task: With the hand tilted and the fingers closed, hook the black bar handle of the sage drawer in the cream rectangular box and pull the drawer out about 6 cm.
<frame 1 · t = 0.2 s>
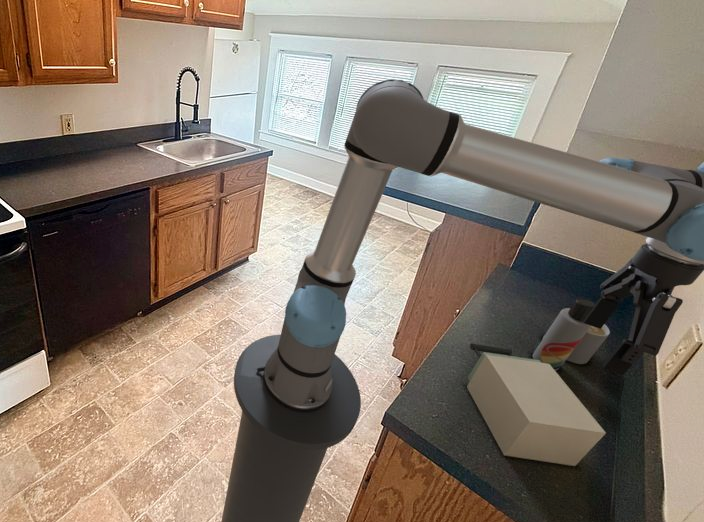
hand: (601, 346, 72), 22 cm above the counter, tool pointing down, fingers open, 13 cm apart
coffee mug: (564, 346, 103), on the counter
lotion bottle: (544, 362, 97), on the counter
drawer: (512, 384, 83), point 5 cm above the counter, slide at 0.5 cm
cream rectangular box: (516, 423, 81), on the counter
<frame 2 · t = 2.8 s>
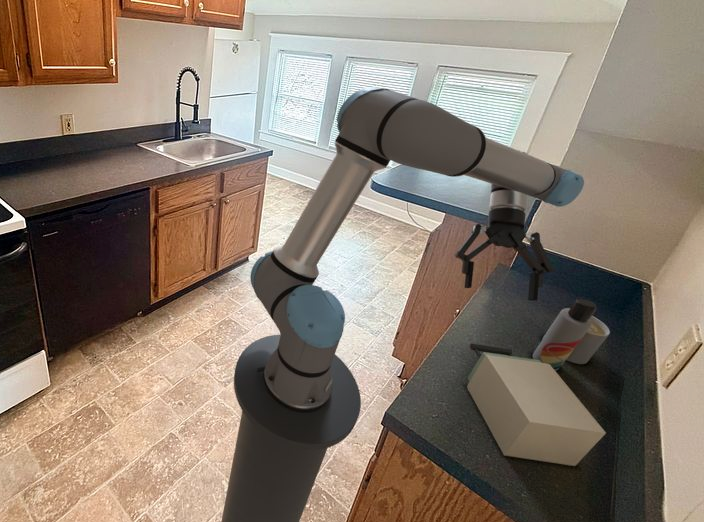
hand: (499, 293, 92), 17 cm above the counter, tool tilted 40°, fingers open, 13 cm apart
nothing on the counter moved.
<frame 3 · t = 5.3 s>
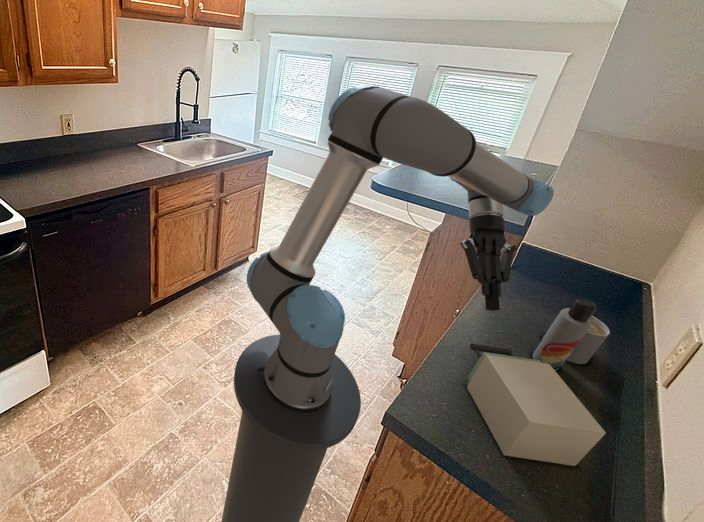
hand: (492, 309, 92), 13 cm above the counter, tool tilted 45°, fingers closed
nothing on the counter moved.
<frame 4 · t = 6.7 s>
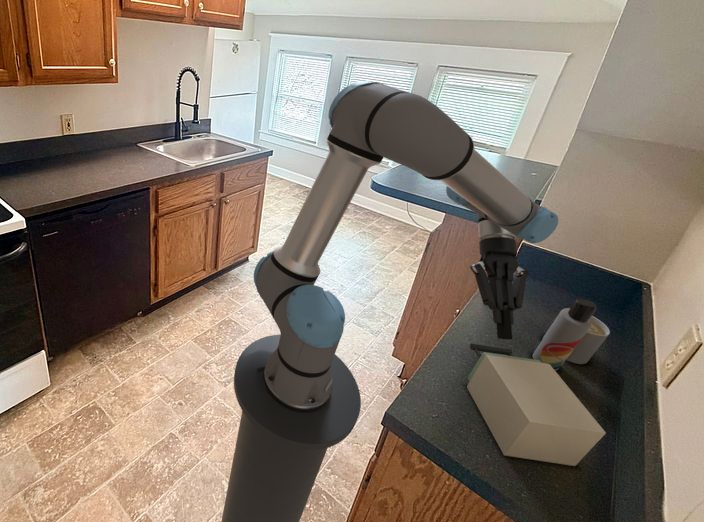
hand: (504, 338, 87), 11 cm above the counter, tool tilted 45°, fingers closed
nothing on the counter moved.
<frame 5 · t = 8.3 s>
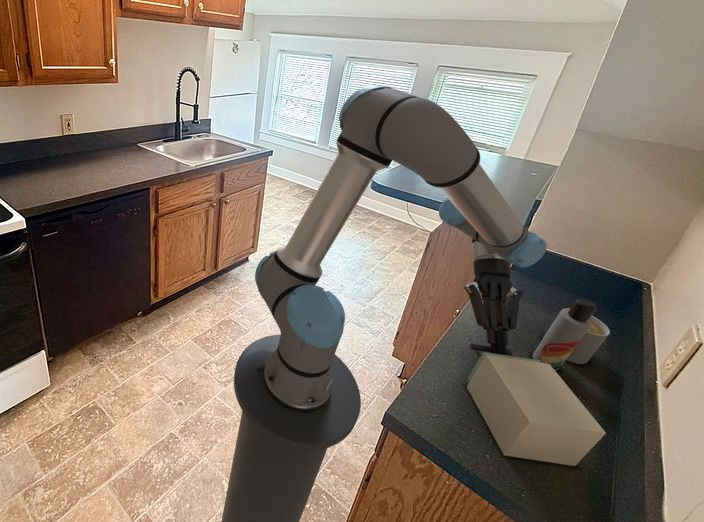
hand: (499, 359, 88), 6 cm above the counter, tool tilted 45°, fingers closed
drawer: (512, 384, 83), point 5 cm above the counter, slide at 0.5 cm, touching gripper
everything else where it was.
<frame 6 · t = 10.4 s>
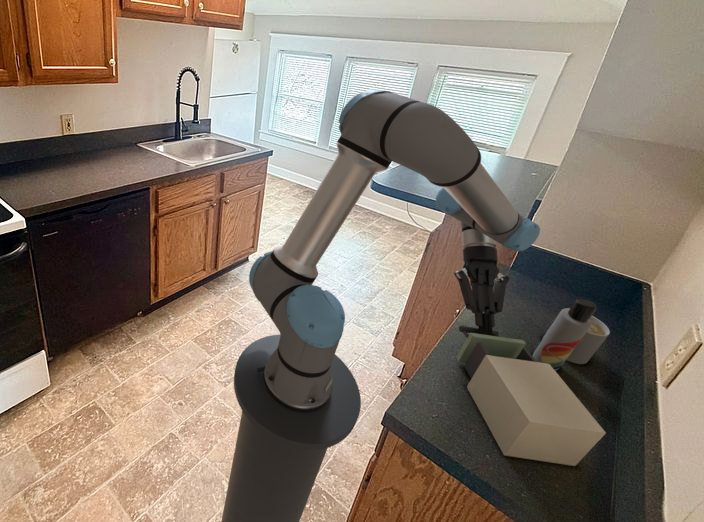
hand: (486, 340, 94), 6 cm above the counter, tool tilted 45°, fingers closed
drawer: (498, 363, 88), point 5 cm above the counter, slide at 6.4 cm, touching gripper
everything else where it was.
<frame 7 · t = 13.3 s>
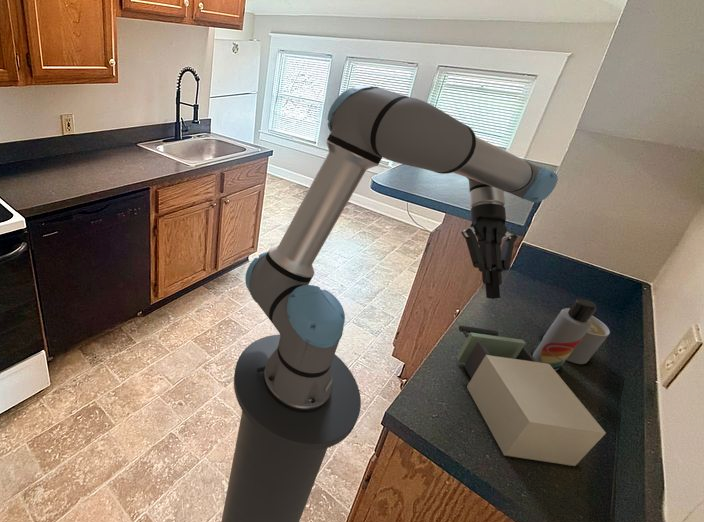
hand: (493, 297, 93), 16 cm above the counter, tool tilted 45°, fingers closed
drawer: (497, 362, 88), point 5 cm above the counter, slide at 6.5 cm
everything else where it was.
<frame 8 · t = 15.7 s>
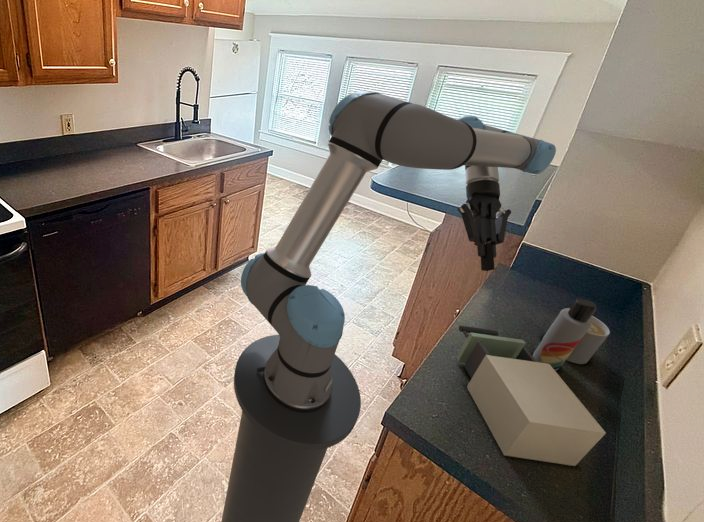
hand: (487, 269, 96), 20 cm above the counter, tool tilted 45°, fingers closed
nothing on the counter moved.
at the end: drawer slide at 6.5 cm; lotion bottle moved 0.2 cm from its start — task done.
